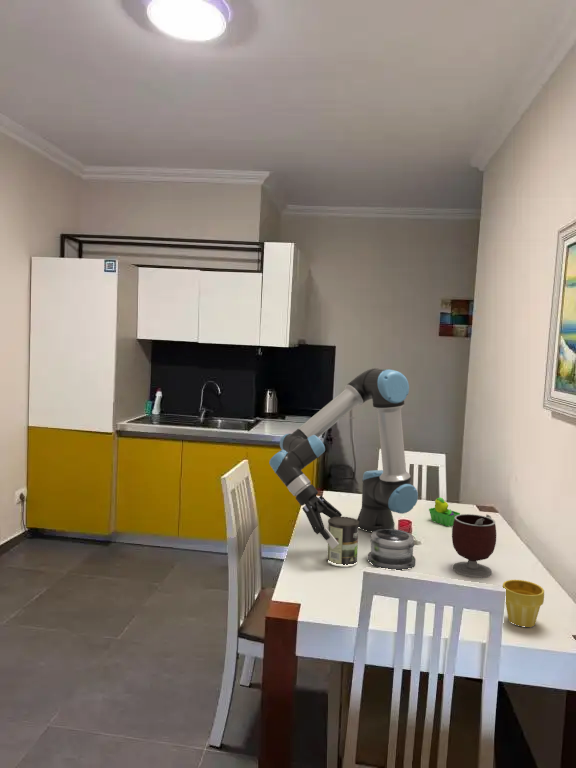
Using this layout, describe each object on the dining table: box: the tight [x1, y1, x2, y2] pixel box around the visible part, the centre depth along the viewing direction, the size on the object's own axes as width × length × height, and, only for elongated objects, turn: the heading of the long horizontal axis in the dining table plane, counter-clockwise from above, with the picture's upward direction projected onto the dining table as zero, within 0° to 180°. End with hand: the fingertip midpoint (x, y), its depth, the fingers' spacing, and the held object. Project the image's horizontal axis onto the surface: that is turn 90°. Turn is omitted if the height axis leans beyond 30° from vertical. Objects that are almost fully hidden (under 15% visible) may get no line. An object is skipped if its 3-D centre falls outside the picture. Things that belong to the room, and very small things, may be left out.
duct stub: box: [367, 528, 417, 571], centre depth 199 cm, size 16×16×9 cm
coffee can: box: [326, 516, 359, 565], centre depth 197 cm, size 10×10×14 cm
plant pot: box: [502, 579, 545, 628], centre depth 157 cm, size 10×10×10 cm
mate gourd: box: [451, 513, 497, 579], centre depth 192 cm, size 16×14×20 cm
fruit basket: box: [428, 497, 461, 527], centre depth 246 cm, size 11×9×11 cm
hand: (342, 540), depth 197 cm, fingers open, 13 cm apart
